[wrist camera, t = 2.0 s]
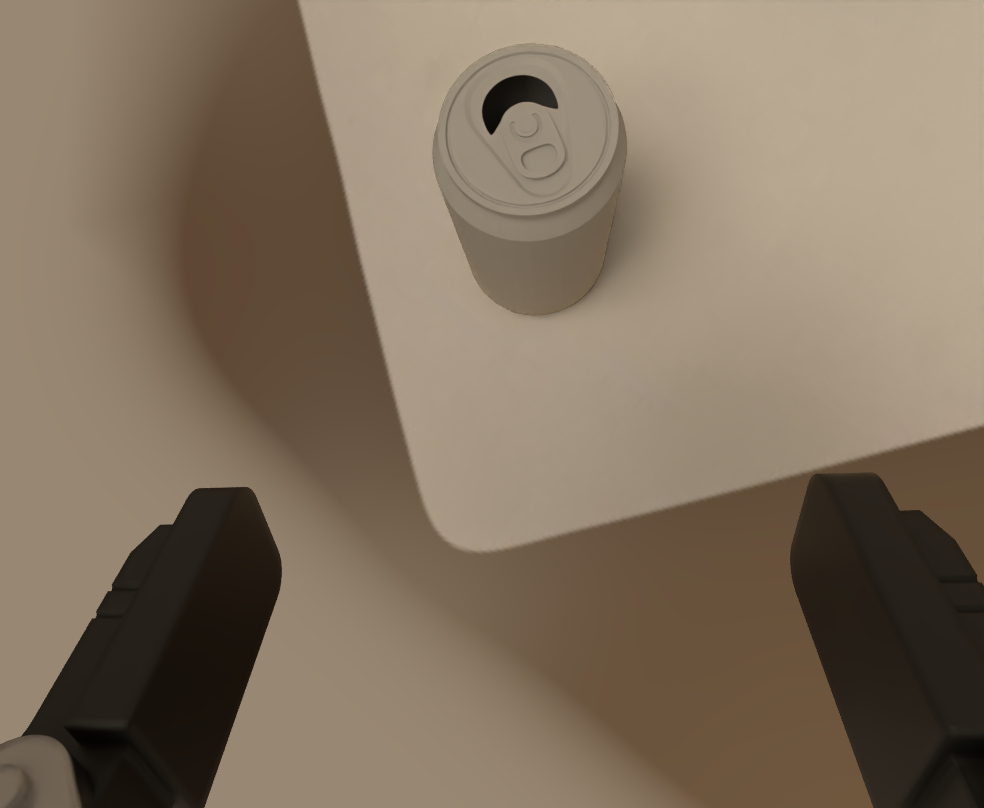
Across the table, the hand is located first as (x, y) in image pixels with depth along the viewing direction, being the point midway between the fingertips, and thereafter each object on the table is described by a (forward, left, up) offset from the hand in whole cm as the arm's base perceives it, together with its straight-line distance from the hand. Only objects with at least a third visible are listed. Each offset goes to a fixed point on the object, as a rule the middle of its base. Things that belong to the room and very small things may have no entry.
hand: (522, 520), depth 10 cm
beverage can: (-4, +11, -22) cm, 25 cm away
